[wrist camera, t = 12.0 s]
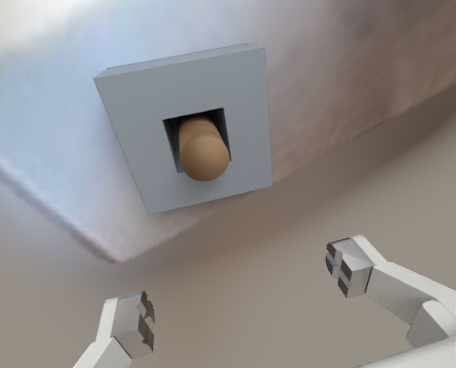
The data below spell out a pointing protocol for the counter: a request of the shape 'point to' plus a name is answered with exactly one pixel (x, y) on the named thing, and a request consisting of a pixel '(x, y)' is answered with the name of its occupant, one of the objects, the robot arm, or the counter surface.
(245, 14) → the counter surface
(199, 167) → the walnut peg
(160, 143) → the socket block
